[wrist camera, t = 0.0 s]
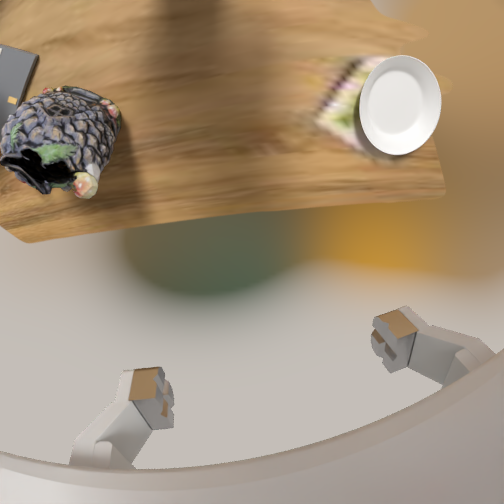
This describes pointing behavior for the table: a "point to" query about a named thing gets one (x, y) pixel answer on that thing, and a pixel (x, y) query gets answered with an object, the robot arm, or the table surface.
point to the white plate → (400, 105)
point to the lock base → (13, 79)
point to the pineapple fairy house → (61, 140)
